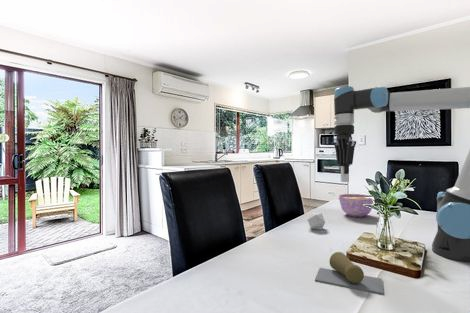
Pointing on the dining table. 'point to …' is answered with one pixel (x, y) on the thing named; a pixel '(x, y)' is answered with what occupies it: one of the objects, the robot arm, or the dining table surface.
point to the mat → (339, 279)
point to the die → (316, 221)
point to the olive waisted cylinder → (346, 267)
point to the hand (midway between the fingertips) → (344, 181)
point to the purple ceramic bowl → (355, 204)
